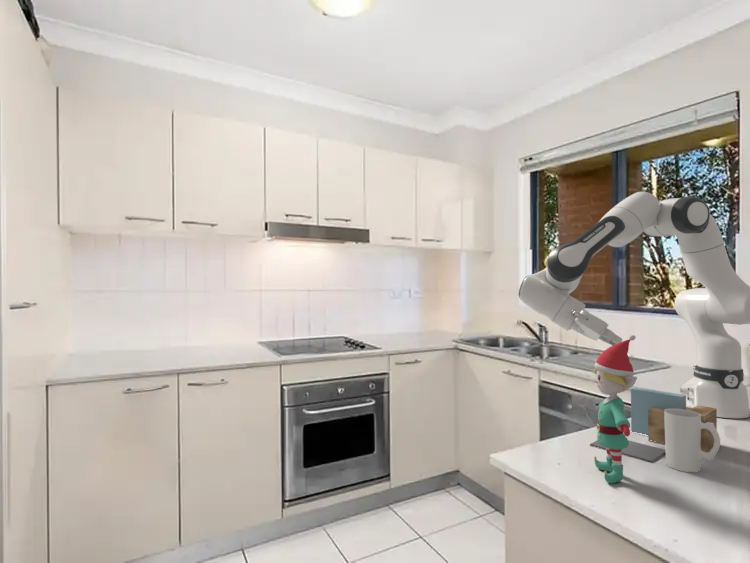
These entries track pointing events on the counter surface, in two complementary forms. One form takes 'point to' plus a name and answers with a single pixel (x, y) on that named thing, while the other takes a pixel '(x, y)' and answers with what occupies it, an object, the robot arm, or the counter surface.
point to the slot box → (707, 413)
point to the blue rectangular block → (651, 405)
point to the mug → (686, 439)
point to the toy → (613, 406)
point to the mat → (639, 451)
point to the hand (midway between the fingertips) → (618, 343)
